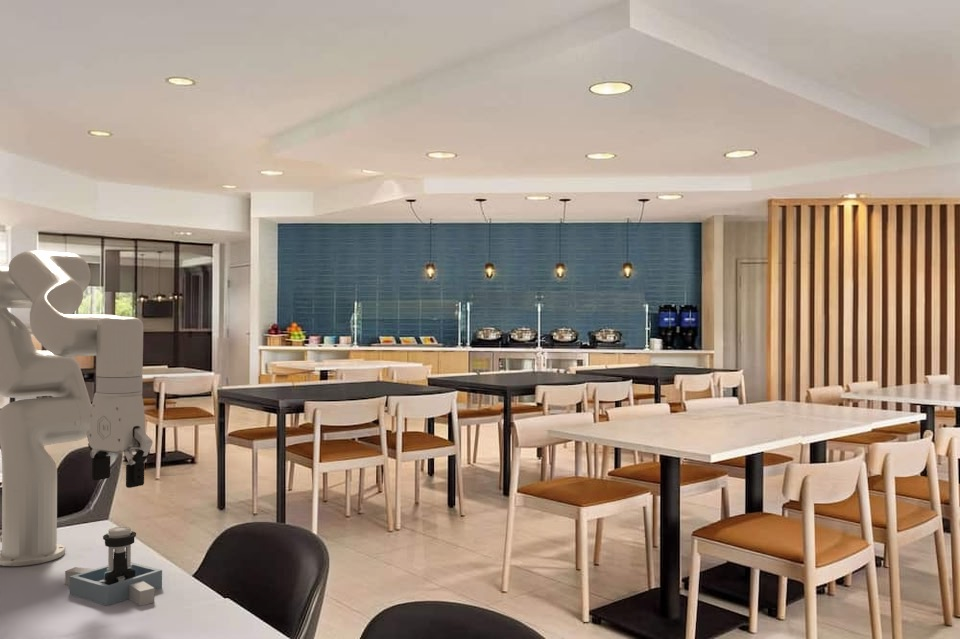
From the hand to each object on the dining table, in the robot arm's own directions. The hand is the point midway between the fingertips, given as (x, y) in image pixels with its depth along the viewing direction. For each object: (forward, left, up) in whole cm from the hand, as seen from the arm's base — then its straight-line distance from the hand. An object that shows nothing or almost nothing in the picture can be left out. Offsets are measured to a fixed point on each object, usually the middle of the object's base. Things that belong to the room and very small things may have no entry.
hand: (117, 482), depth 139 cm
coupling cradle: (+1, -1, -19) cm, 19 cm away
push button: (+1, -1, -18) cm, 18 cm away
